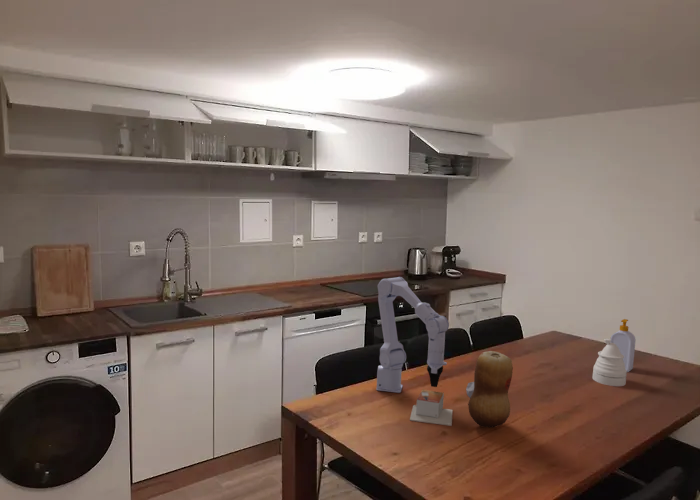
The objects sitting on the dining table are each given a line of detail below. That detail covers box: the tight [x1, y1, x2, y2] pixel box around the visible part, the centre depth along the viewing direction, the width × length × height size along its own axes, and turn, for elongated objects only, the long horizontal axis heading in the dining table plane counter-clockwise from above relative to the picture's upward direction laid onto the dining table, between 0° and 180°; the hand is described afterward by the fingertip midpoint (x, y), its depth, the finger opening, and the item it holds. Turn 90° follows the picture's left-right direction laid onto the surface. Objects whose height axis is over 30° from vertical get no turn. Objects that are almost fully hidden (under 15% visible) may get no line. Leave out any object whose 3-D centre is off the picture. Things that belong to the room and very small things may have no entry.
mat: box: [409, 404, 453, 427], centre depth 180 cm, size 14×12×1 cm
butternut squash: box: [467, 350, 514, 428], centre depth 172 cm, size 14×13×25 cm
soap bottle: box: [609, 318, 636, 373], centre depth 238 cm, size 9×7×23 cm
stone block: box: [465, 381, 474, 398], centre depth 201 cm, size 12×5×10 cm
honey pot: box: [592, 338, 628, 387], centre depth 221 cm, size 13×13×18 cm
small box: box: [416, 389, 445, 418], centre depth 183 cm, size 8×6×10 cm
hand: (434, 386), depth 188 cm, fingers closed
